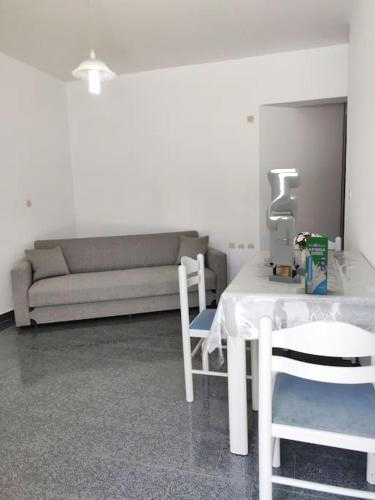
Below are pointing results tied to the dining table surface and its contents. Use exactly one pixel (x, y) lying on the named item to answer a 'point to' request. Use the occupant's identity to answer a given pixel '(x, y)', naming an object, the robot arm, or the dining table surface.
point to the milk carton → (316, 265)
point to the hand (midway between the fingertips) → (284, 276)
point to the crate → (284, 271)
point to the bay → (287, 279)
